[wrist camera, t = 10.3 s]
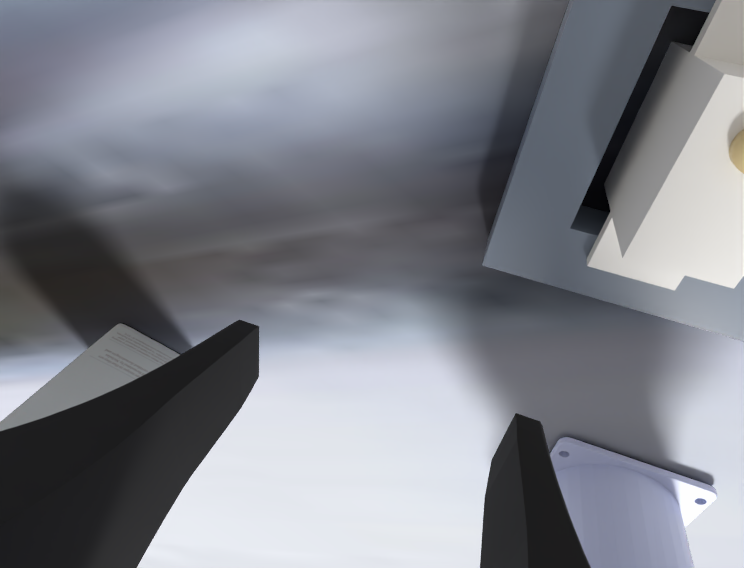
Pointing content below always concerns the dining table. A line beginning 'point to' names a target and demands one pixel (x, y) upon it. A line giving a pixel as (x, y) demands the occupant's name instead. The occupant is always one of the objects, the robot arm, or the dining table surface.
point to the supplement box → (94, 374)
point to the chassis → (591, 168)
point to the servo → (683, 167)
